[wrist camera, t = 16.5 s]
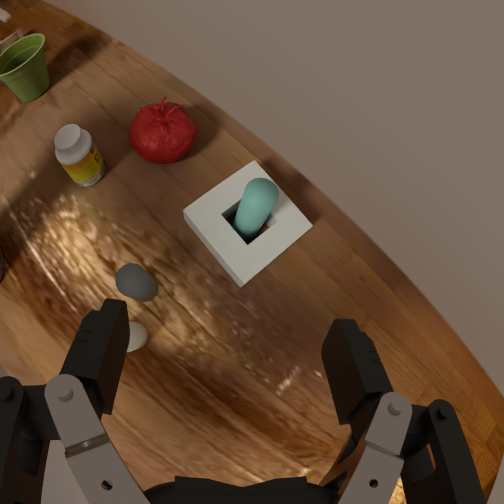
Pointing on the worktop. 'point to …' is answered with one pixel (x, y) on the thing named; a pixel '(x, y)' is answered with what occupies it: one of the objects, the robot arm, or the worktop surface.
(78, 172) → the supplement bottle
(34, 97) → the plant pot
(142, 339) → the cream pin
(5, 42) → the oak coaster frame
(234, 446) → the worktop surface
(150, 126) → the pomegranate
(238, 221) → the teal pin
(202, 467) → the worktop surface
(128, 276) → the charcoal pin
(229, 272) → the socket block
